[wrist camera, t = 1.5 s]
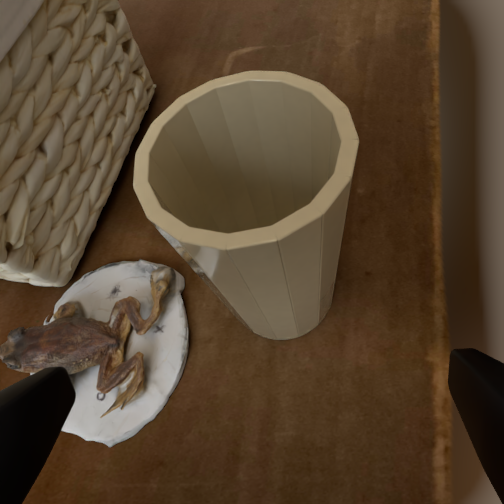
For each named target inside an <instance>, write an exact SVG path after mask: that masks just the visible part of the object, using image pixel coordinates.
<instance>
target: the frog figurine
mask: <svg viewBox="0 0 504 504" xmlns="http://www.w3.org/2000/svg"><path fill="white" fill-rule="evenodd" d="M184 280H185V279H184V277H183V276H182V275H181V274H180V273H178V272H177V271H176V270H175V269H173V268H171V267H168V266H166V265H162V264H156V263H152V262H148V261H144V260H142V259H140V260H139V261H137V262H131V261H122V262H117V263H110V264H107V265H105V266H102V267H100V268H98V269H97V270H95V271H91V272H89V273H87V274H85V275H83V277H82V278H81V279H80V280H78V281H77V282H75V283H74V284H73V285H72V286H71V287H70V288H69V289H68V290H67V291H66V292H65V293H64V294H63V296H62V297H61V299H60V300H59V301H58V302H57V303H56V305H55V309H54V315H53V317H52V318H51V319H50V322H46V320H45V321H44V325H41V326H34V327H29V328H28V329H24V327H19V328H17V329H14V330H11V331H10V333H9V335H8V340H7V342H5V343H4V344H2V345H1V346H0V358H1V359H2V362H3V363H6V364H7V367H8V368H11V369H14V370H17V371H20V372H26V373H30V375H32V374H34V373H36V372H38V371H40V370H42V369H44V368H47V367H57V366H61V367H64V368H65V369H67V371H68V374H69V376H70V379H71V381H72V384H73V386H74V389H75V392H76V399H75V403H74V405H73V407H72V409H71V411H70V413H69V415H68V417H67V419H66V421H65V423H64V426H63V428H62V431H65V432H69V433H74V434H76V435H79V436H80V437H82V438H84V439H85V440H86V441H90V440H92V441H96V442H101V443H104V444H106V445H107V446H109V447H112V446H113V445H115V444H116V443H119V442H122V441H124V440H126V439H128V438H130V437H132V436H134V435H135V434H136V433H137V432H138V431H139V430H140V429H142V428H143V427H144V425H145V424H147V423H148V422H149V421H150V422H151V420H153V419H154V418H155V417H156V415H157V414H158V413H159V412H160V411H161V410H162V409H163V407H164V406H165V404H166V403H167V401H168V399H169V396H170V395H171V394H172V392H173V391H174V389H175V388H176V386H177V384H178V382H179V380H180V378H181V376H182V373H183V369H184V367H185V364H186V359H187V355H188V347H189V343H188V333H189V331H188V320H187V315H186V310H185V307H184V304H183V300H182V298H181V295H180V294H181V292H182V291H183V290H184V286H185V281H184ZM136 290H137V291H136ZM48 316H49V315H48ZM46 319H47V318H46Z"/></svg>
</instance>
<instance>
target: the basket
mask: <svg viewBox="0 0 504 504" xmlns="http://www.w3.org/2000/svg"><path fill="white" fill-rule="evenodd" d="M155 88H156V84H153V82H152V79H151V77H150V74H149V71H148V69H147V67H146V66H145V63H144V60H143V58H142V55H141V54H140V49H139V47H138V45H137V43H136V42H135V40H134V39H133V35H132V33H131V31H130V26H129V24H128V21H127V18H126V16H125V14H124V13H123V11H122V9H121V8H120V4H119V2H118V0H0V279H5V280H10V281H15V282H28V283H30V284H32V285H35V286H54V287H62V286H65V285H66V284H67V283H68V282H69V281H70V279H71V278H72V276H73V273H74V271H75V269H76V267H77V265H78V263H79V260H80V259H81V258H82V256H83V253H84V250H85V247H86V245H87V242H88V240H89V238H90V236H91V233H92V232H93V231H94V229H95V227H96V222H97V220H98V217H99V215H100V213H101V211H102V208H103V207H104V206H105V204H106V202H107V199H108V197H109V195H110V193H111V190H112V187H113V185H114V182H115V181H116V180H117V177H118V174H119V172H120V169H121V167H122V164H123V161H124V159H125V157H126V155H128V153H129V150H130V146H131V143H132V141H133V139H134V136H135V134H136V133H137V132H138V130H139V127H140V123H141V121H142V119H143V117H144V114H145V112H146V111H147V110H148V107H149V103H150V101H151V99H152V96H153V94H154V92H155V91H154V89H155Z"/></svg>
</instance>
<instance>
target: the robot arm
mask: <svg viewBox="0 0 504 504" xmlns="http://www.w3.org/2000/svg"><path fill="white" fill-rule="evenodd" d="M448 385H449V390H450V393H451V395H452V398H453V400H454V402H455V404H456V407H457V409H458V411H459V414H460V416H461V418H462V421H463V423H464V425H465V428H466V430H467V432H468V434H469V437H470V439H471V441H472V444H473V446H474V448H475V450H476V453H477V455H478V457H479V460H480V462H481V464H482V466H483V468H484V470H485V472H486V474H487V476H488V478H489V480H490V482H491V484H492V485H493V487H494V489H495V491H496V492H497V495H498V496H499V498H500V500H501V502H502V504H504V363H502V362H500V361H498V360H496V359H494V358H492V357H490V356H488V355H486V354H484V353H482V352H480V351H478V350H476V349H473V348H467V349H454V350H453V351H451V354H450V362H449V375H448ZM75 399H76V392H75V389H74V386H73V384H72V381H71V379H70V376H69V374H68V371H67V369H65V368H64V367H61V366H57V367H47V368H44V369H42V370H40V371H38V372H36V373H34V374H32V375H30V376H29V377H27V378H25V379H23V380H21V381H19V382H17V383H15V384H13V385H11V386H9V387H7V388H5V389H3V390H1V391H0V504H22V503H23V501H24V499H25V498H26V496H27V494H28V493H29V491H30V489H31V487H32V486H33V484H34V482H35V480H36V479H37V477H38V475H39V473H40V472H41V470H42V468H43V466H44V464H45V462H46V460H47V458H48V456H49V455H50V452H51V450H52V448H53V446H54V444H55V442H56V440H57V438H58V436H59V434H60V432H61V430H62V428H63V426H64V423H65V421H66V419H67V417H68V415H69V413H70V411H71V409H72V407H73V405H74V403H75Z"/></svg>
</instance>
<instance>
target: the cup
mask: <svg viewBox="0 0 504 504" xmlns="http://www.w3.org/2000/svg"><path fill="white" fill-rule="evenodd" d="M358 147H359V137H358V135H357V132H356V129H355V126H354V123H353V120H352V118H351V115H350V112H349V109H348V108H347V106H346V105H345V104H344V103H343V102H342V101H341V100H340V99H338V98H337V97H336V96H335V95H334V94H333V93H332V92H331V91H330V90H328V89H327V88H326V87H325V86H324V85H323V84H321V83H319V82H316V81H313V80H310V79H307V78H304V77H302V76H299V75H296V74H293V73H290V72H286V71H250V72H249V71H246V72H242V73H237V74H233V75H229V76H225V77H221V78H217V79H213V80H210V81H208V82H206V83H205V84H203V85H201V86H199V87H197V88H195V89H193V90H191V91H189V92H187V93H186V94H184V95H182V96H180V97H179V98H177V99H176V100H175V101H174V102H173V103H172V104H171V105H170V106H169V107H168V108H167V109H166V110H165V111H164V112H163V113H161V114H160V115H159V116H158V117H157V118H156V119H155V120H154V121H153V123H151V125H150V127H149V129H148V131H147V132H146V134H145V136H144V138H143V140H142V142H141V144H140V146H139V147H138V149H137V151H136V154H135V165H134V178H133V188H134V191H135V193H136V195H137V197H138V199H139V201H140V204H141V206H142V208H143V210H144V212H145V215H146V217H147V218H148V219H149V221H150V222H151V223H152V224H153V225H154V226H155V227H156V228H157V229H158V231H159V232H160V233H161V234H162V235H163V236H164V237H165V238H166V240H167V241H168V242H169V243H170V244H171V245H172V246H173V247H174V249H175V250H176V251H177V252H178V253H179V254H180V255H181V256H182V258H183V259H184V260H185V261H186V262H187V263H188V264H189V265H190V267H191V268H192V269H193V270H194V271H195V272H196V273H197V274H198V275H199V277H200V278H201V279H202V280H203V281H204V282H205V283H206V284H207V286H208V287H209V288H210V289H211V290H212V291H213V292H214V293H215V295H216V296H217V297H218V298H219V299H220V300H221V301H222V302H223V304H224V305H225V306H226V307H227V308H228V309H229V310H230V311H231V313H232V314H233V315H234V316H235V317H236V318H237V319H238V320H239V321H240V322H241V323H242V324H243V325H245V326H246V327H247V328H248V329H249V330H251V331H252V332H254V333H255V334H257V335H259V336H262V337H265V338H269V339H274V340H287V339H293V338H297V337H299V336H302V335H304V334H306V333H308V332H310V331H311V330H312V329H314V328H315V327H316V326H317V325H318V324H319V323H320V322H321V321H322V320H323V319H324V317H325V316H326V314H327V312H328V310H329V308H330V306H331V303H332V298H333V293H334V288H335V282H336V276H337V270H338V264H339V258H340V253H341V247H342V241H343V235H344V229H345V223H346V217H347V211H348V205H349V200H350V194H351V188H352V182H353V176H354V170H355V164H356V158H357V152H358Z"/></svg>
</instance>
